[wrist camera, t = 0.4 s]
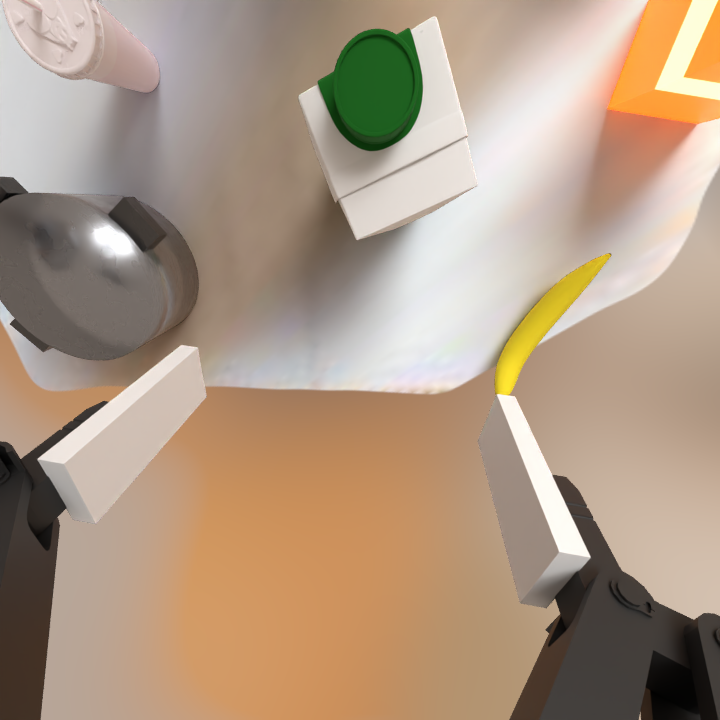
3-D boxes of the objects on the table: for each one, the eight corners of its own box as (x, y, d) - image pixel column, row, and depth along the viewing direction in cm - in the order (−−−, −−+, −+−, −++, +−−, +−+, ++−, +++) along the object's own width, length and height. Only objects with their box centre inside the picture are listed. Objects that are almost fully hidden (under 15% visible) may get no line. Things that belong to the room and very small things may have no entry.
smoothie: (130, 4, 29) (-59, -148, 17) (187, 73, 31) (56, -16, 19) (93, 64, 31) (-100, -30, 19) (149, 125, 33) (8, 78, 21)
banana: (593, 253, 36) (633, 262, 30) (492, 386, 44) (509, 414, 38) (571, 241, 36) (608, 248, 30) (474, 378, 44) (488, 404, 38)
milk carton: (411, 101, 31) (454, -39, 13) (440, 198, 35) (506, 192, 17) (329, 145, 33) (268, 75, 15) (364, 233, 36) (348, 262, 18)
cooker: (238, 273, 39) (201, 291, 31) (135, 361, 45) (81, 395, 37) (116, 130, 34) (32, 107, 25) (17, 253, 40) (-77, 265, 32)
